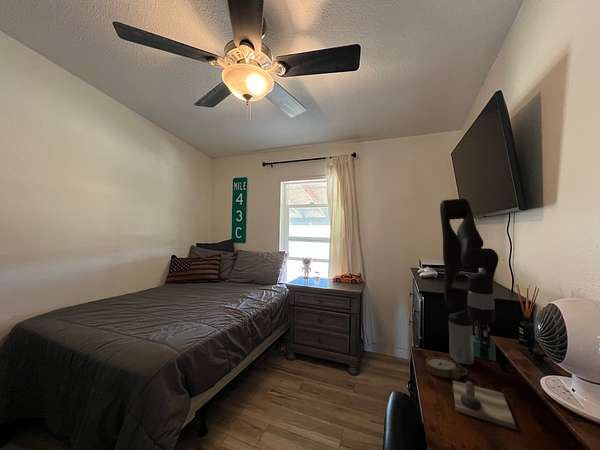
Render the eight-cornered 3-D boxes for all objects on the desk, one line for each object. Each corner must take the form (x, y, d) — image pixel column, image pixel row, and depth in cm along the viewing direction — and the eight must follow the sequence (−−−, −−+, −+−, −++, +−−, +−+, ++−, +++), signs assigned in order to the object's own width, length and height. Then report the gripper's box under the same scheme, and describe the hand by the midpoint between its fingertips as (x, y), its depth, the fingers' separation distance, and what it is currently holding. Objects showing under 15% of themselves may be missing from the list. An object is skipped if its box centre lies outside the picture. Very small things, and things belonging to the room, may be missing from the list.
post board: (452, 384, 91) (452, 361, 91) (502, 397, 83) (501, 373, 84) (455, 410, 77) (454, 384, 78) (515, 429, 70) (514, 400, 70)
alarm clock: (427, 354, 108) (465, 358, 100) (429, 365, 108) (468, 370, 99) (423, 365, 99) (465, 370, 91) (425, 377, 99) (468, 384, 90)
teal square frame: (470, 349, 85) (470, 335, 85) (492, 353, 82) (491, 338, 82) (473, 356, 80) (472, 341, 80) (496, 360, 77) (495, 345, 77)
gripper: (465, 299, 90) (466, 343, 89) (470, 308, 77) (472, 361, 76) (489, 301, 86) (491, 348, 85) (499, 312, 74) (502, 367, 73)
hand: (482, 354), depth 81 cm, fingers closed on teal square frame, 6 cm apart
